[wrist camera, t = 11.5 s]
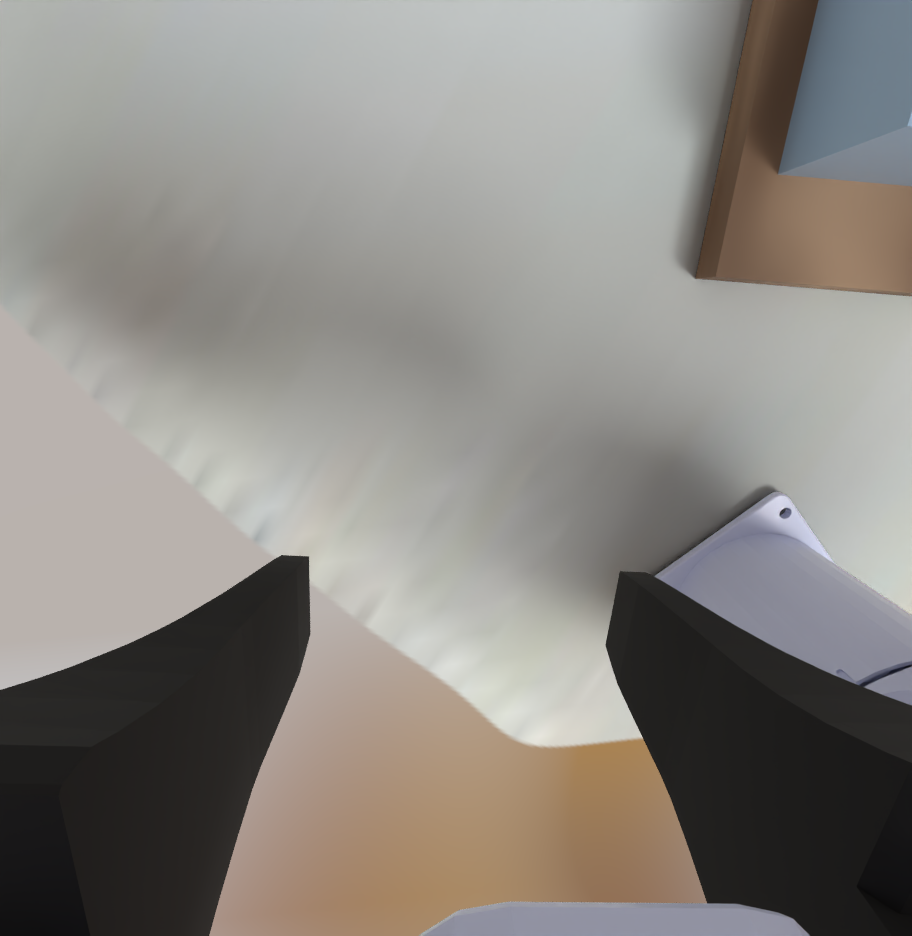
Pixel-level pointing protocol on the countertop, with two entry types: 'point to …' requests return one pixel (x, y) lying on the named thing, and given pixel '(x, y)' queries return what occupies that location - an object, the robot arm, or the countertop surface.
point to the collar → (855, 95)
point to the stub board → (795, 185)
